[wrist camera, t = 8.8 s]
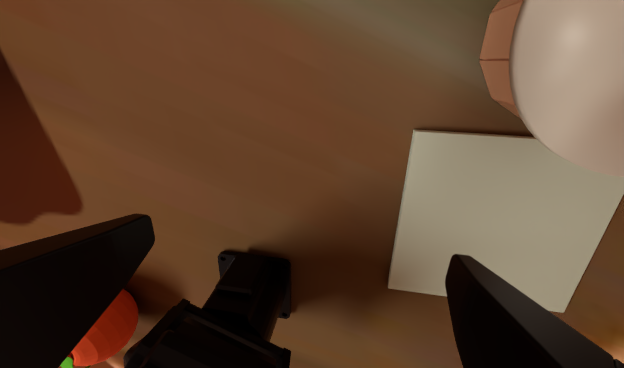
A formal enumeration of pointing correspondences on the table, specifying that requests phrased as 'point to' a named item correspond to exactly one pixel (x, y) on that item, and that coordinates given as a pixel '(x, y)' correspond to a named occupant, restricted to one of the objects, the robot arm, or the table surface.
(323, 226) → the table surface
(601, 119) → the lid
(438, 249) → the mat
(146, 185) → the table surface
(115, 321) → the clementine
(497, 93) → the bowl
